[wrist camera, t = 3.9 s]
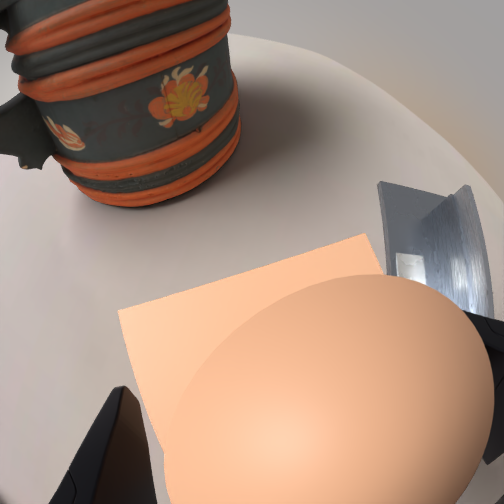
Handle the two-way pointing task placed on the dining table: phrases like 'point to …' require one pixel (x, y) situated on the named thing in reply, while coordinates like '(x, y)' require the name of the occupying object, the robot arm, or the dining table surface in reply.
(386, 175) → the dining table surface
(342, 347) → the arched stamp block
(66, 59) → the beer stein
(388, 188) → the grey finned plate
